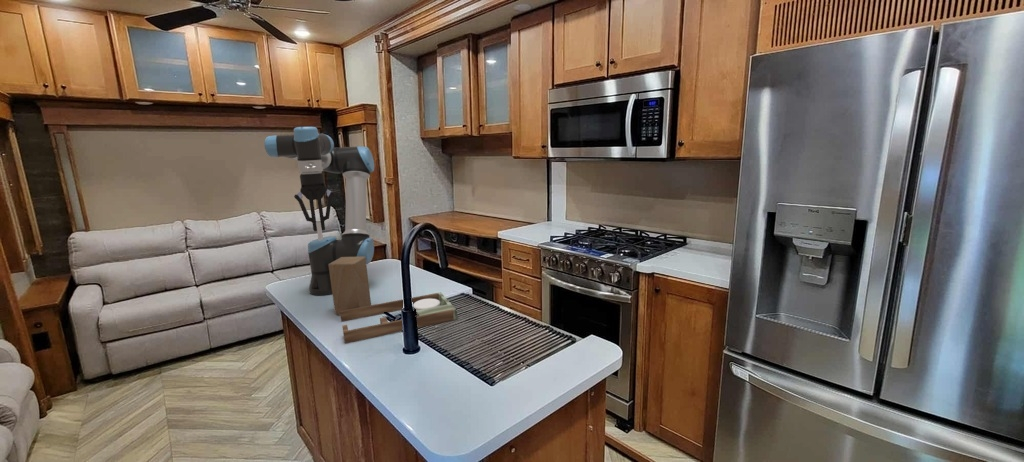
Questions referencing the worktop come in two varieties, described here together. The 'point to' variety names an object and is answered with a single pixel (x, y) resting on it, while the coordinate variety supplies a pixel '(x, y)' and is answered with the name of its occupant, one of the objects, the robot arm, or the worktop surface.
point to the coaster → (426, 304)
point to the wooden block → (349, 283)
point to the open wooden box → (385, 327)
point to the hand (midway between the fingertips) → (320, 239)
